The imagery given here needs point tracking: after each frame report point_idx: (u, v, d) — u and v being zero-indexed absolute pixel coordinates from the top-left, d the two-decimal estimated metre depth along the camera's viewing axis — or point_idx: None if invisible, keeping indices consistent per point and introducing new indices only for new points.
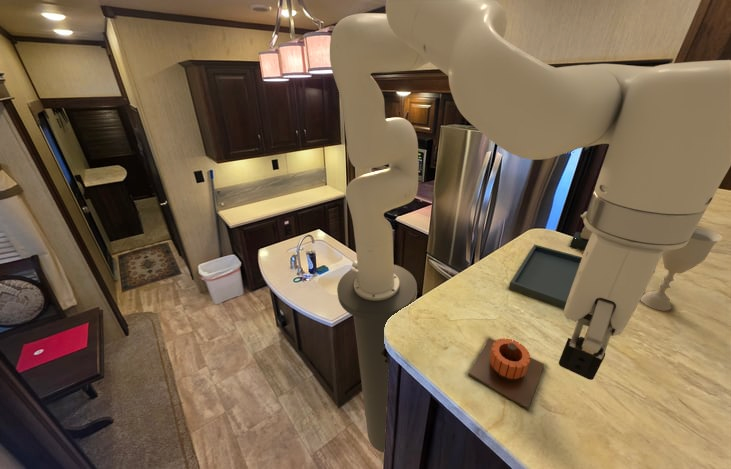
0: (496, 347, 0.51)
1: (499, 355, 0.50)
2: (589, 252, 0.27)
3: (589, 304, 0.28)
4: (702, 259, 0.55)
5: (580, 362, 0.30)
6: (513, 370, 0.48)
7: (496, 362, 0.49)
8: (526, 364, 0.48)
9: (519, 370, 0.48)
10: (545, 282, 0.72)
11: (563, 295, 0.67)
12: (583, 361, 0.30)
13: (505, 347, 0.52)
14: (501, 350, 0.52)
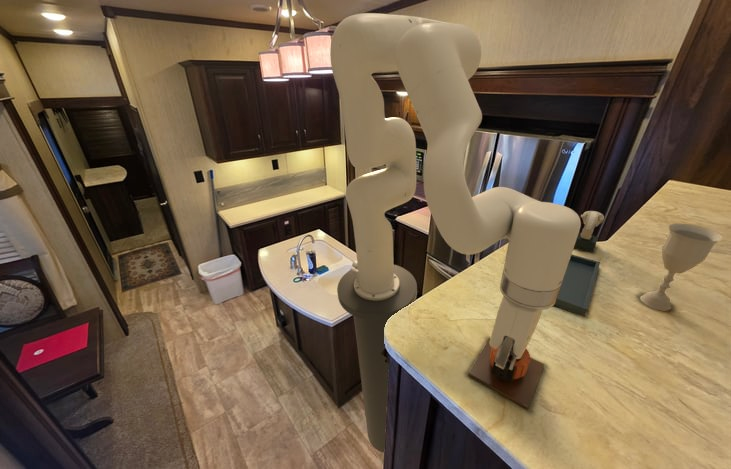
0: None
1: None
2: (499, 307, 0.43)
3: (501, 339, 0.44)
4: (702, 259, 0.55)
5: (501, 372, 0.47)
6: None
7: None
8: (526, 364, 0.48)
9: (519, 370, 0.48)
10: None
11: (563, 295, 0.67)
12: (503, 371, 0.47)
13: None
14: None
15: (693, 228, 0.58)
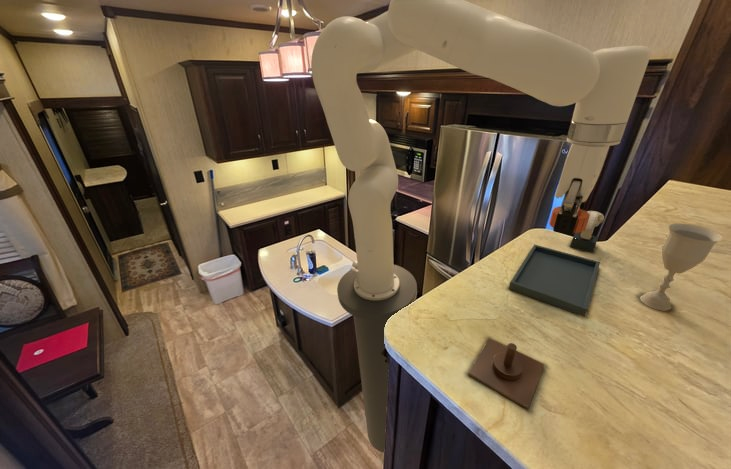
0: (557, 210, 0.57)
1: None
2: (568, 153, 0.49)
3: (568, 183, 0.50)
4: (702, 259, 0.55)
5: (565, 223, 0.54)
6: None
7: None
8: (587, 217, 0.54)
9: (580, 222, 0.54)
10: (545, 282, 0.72)
11: (563, 295, 0.67)
12: (566, 222, 0.53)
13: None
14: None
15: (693, 228, 0.58)
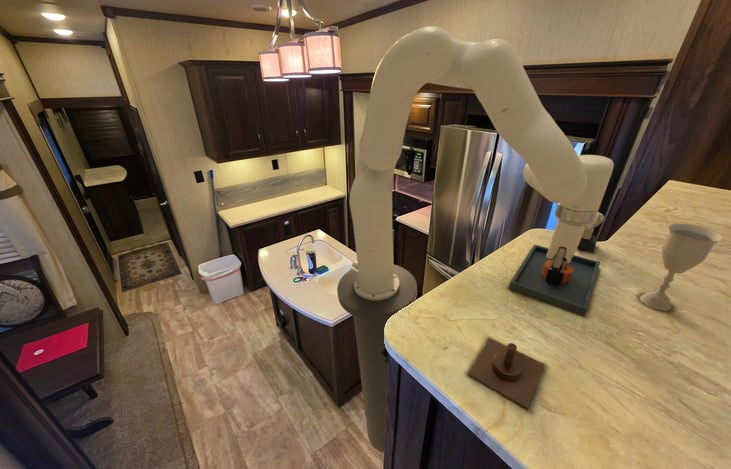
0: (548, 264, 0.73)
1: None
2: (556, 227, 0.65)
3: (556, 249, 0.66)
4: (702, 259, 0.55)
5: (554, 277, 0.69)
6: None
7: None
8: (571, 272, 0.70)
9: (566, 276, 0.69)
10: (545, 282, 0.72)
11: (563, 295, 0.67)
12: (555, 276, 0.69)
13: None
14: None
15: (693, 228, 0.58)
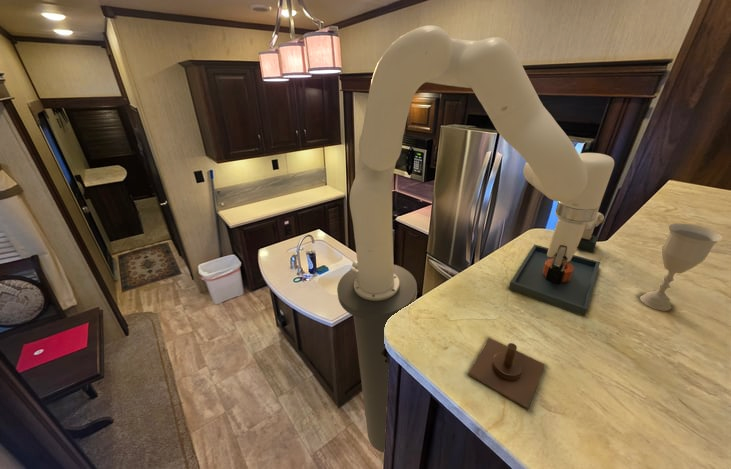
0: (548, 263, 0.72)
1: None
2: (556, 225, 0.65)
3: (557, 248, 0.65)
4: (702, 259, 0.55)
5: (554, 275, 0.69)
6: None
7: None
8: (571, 270, 0.69)
9: (567, 275, 0.69)
10: (545, 282, 0.72)
11: (563, 295, 0.67)
12: (555, 275, 0.69)
13: None
14: None
15: (693, 228, 0.58)
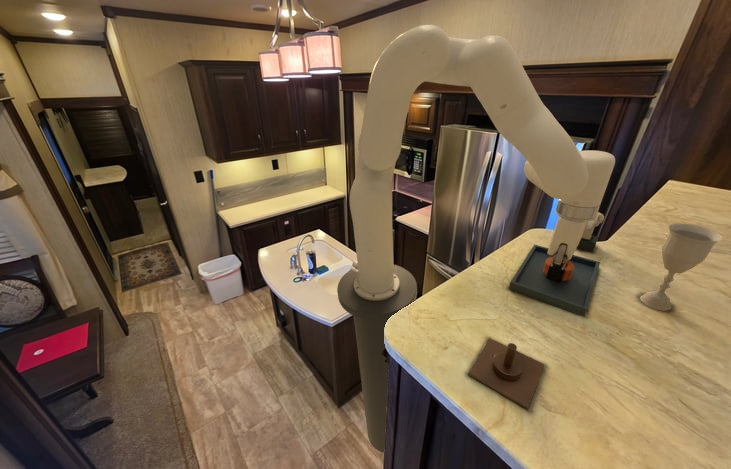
0: (549, 261, 0.72)
1: None
2: (557, 224, 0.64)
3: (557, 246, 0.65)
4: (702, 259, 0.55)
5: (555, 274, 0.69)
6: None
7: None
8: (572, 269, 0.69)
9: (567, 273, 0.69)
10: (545, 282, 0.72)
11: (563, 295, 0.67)
12: (556, 273, 0.69)
13: None
14: None
15: (693, 228, 0.58)
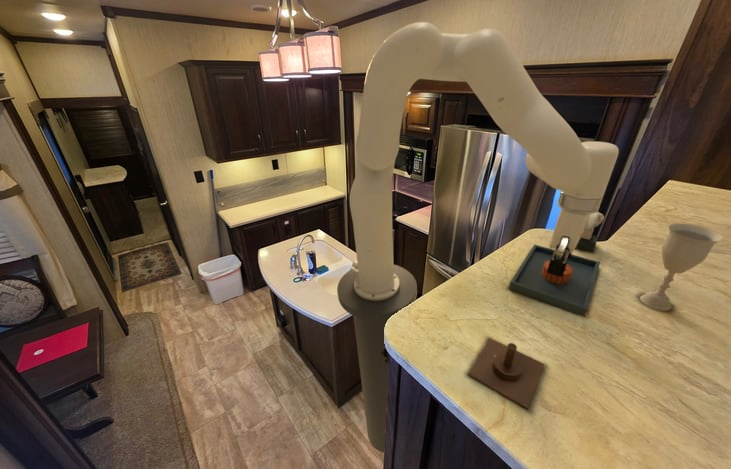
0: (547, 264, 0.73)
1: None
2: (559, 216, 0.64)
3: (559, 239, 0.64)
4: (702, 259, 0.55)
5: (556, 267, 0.67)
6: None
7: (548, 273, 0.71)
8: (570, 272, 0.70)
9: (565, 276, 0.70)
10: (545, 282, 0.72)
11: (563, 295, 0.67)
12: (557, 267, 0.66)
13: None
14: None
15: (693, 228, 0.58)
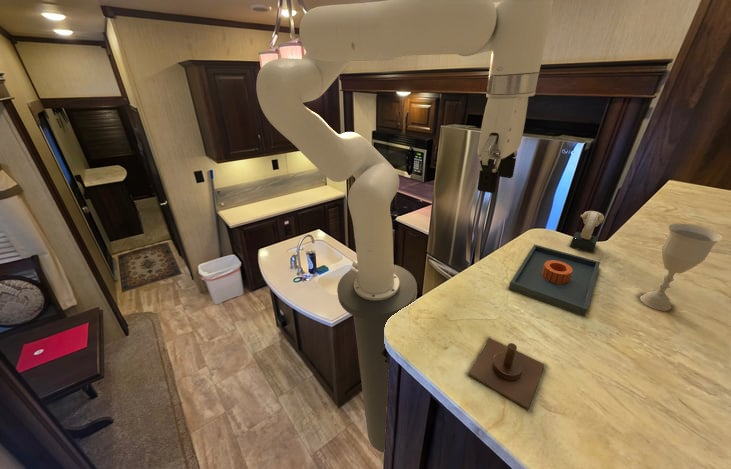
0: (547, 264, 0.73)
1: (550, 268, 0.71)
2: (485, 108, 0.49)
3: (487, 139, 0.49)
4: (702, 259, 0.55)
5: (486, 180, 0.52)
6: (561, 276, 0.70)
7: (548, 273, 0.71)
8: (570, 272, 0.70)
9: (565, 276, 0.70)
10: (545, 282, 0.72)
11: (563, 295, 0.67)
12: (487, 178, 0.51)
13: (553, 266, 0.74)
14: (550, 268, 0.74)
15: (693, 228, 0.58)
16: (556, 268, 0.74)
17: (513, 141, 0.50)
